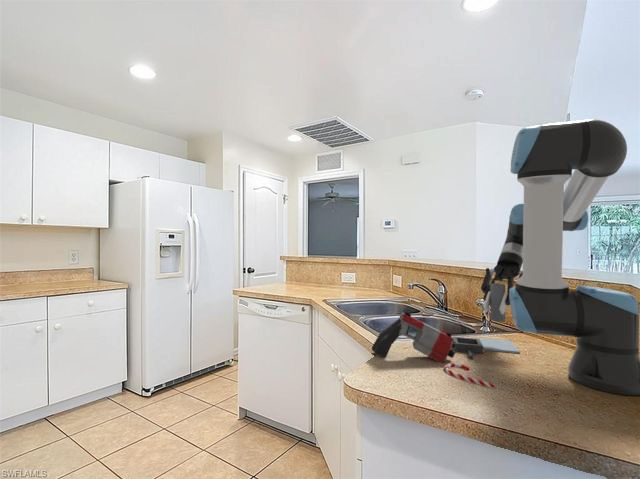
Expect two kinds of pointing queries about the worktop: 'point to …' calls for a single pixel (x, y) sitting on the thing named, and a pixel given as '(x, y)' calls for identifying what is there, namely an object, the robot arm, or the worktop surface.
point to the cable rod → (496, 301)
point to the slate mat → (498, 345)
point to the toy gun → (416, 338)
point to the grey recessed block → (468, 345)
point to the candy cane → (446, 369)
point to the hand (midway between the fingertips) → (493, 310)
